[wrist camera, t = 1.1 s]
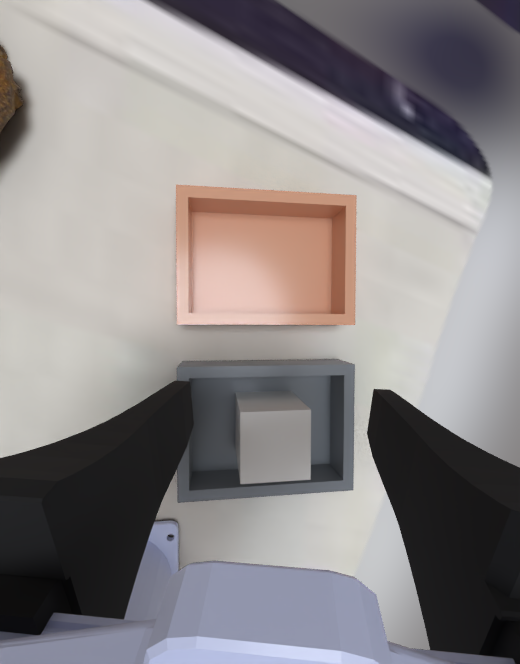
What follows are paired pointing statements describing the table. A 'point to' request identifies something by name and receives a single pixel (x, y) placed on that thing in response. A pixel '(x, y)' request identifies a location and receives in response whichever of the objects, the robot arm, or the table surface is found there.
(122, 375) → the table surface
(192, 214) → the terracotta bin
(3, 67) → the decorative rock
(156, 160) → the table surface
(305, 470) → the stone block
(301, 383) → the charcoal bin
